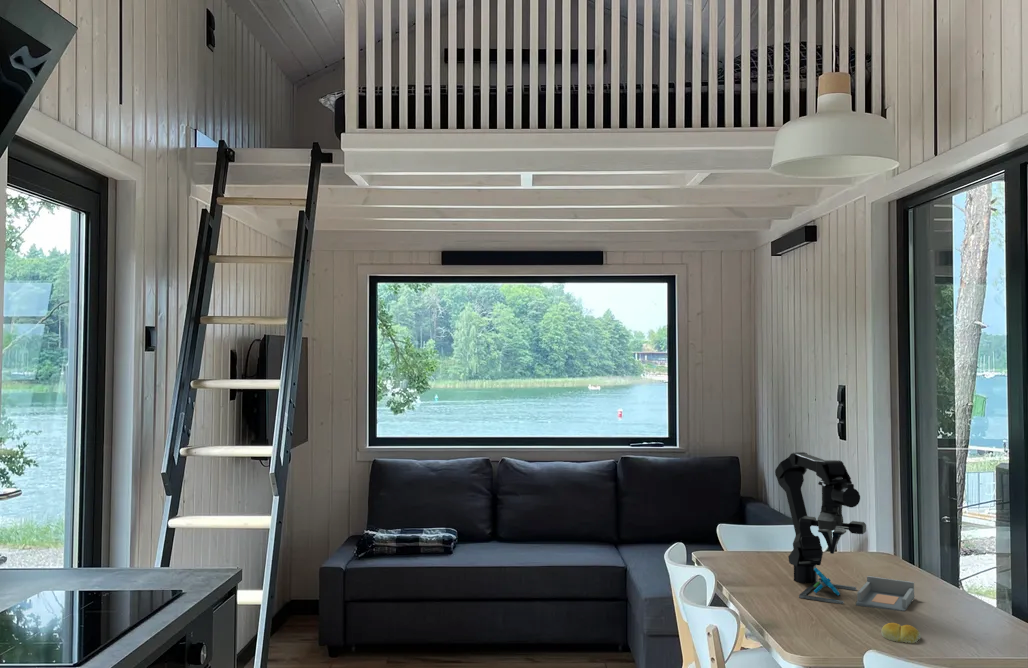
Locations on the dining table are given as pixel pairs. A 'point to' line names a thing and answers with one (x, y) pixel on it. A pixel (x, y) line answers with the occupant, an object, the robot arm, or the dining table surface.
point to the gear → (824, 582)
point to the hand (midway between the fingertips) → (832, 553)
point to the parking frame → (805, 596)
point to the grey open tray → (886, 594)
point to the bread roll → (900, 633)
